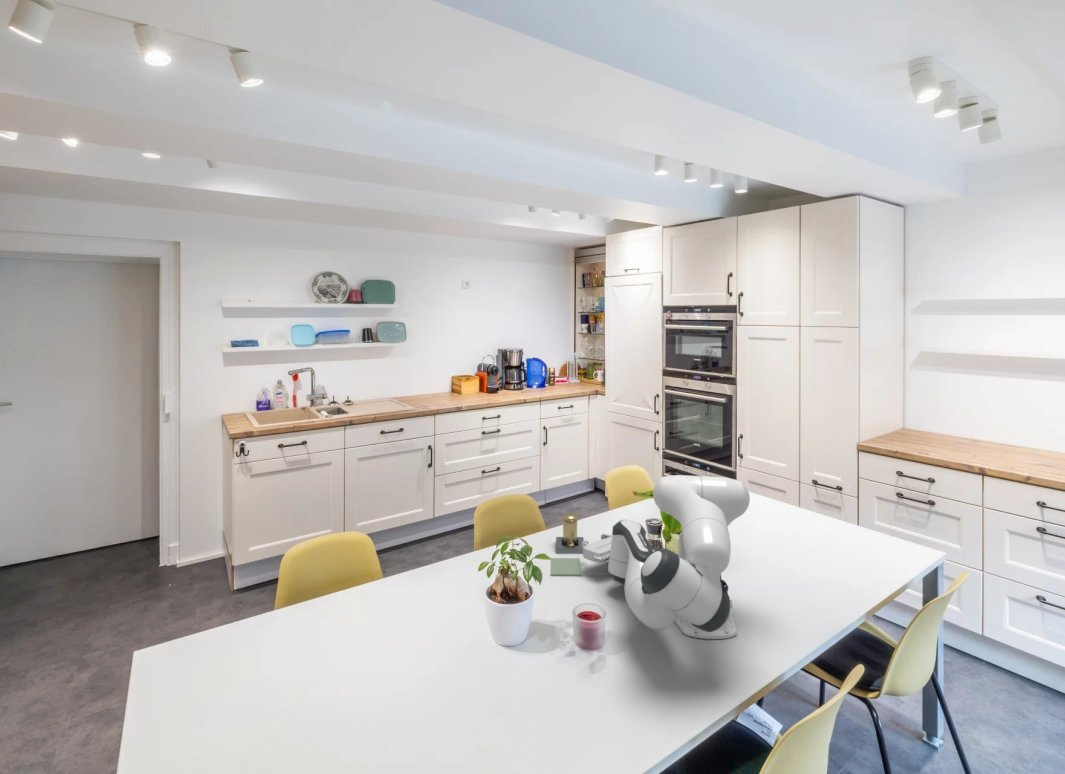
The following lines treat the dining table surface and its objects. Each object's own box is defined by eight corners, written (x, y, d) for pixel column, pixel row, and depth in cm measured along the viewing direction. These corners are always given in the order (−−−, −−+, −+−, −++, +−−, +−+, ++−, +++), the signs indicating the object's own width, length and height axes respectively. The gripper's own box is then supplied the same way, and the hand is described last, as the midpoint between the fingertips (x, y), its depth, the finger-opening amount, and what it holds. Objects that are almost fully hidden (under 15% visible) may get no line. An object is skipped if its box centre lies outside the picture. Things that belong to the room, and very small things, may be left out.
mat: (581, 576, 176) (581, 574, 176) (550, 576, 177) (550, 574, 177) (579, 559, 188) (579, 558, 188) (550, 559, 189) (550, 558, 189)
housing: (584, 555, 192) (584, 548, 192) (556, 554, 193) (556, 548, 192) (583, 543, 202) (583, 537, 202) (556, 543, 203) (556, 536, 202)
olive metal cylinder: (578, 551, 194) (578, 518, 193) (562, 551, 194) (561, 518, 193) (577, 544, 200) (578, 512, 199) (561, 544, 200) (561, 512, 199)
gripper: (601, 571, 171) (570, 556, 181) (643, 553, 183) (612, 541, 194) (601, 552, 170) (570, 538, 180) (643, 535, 183) (612, 524, 193)
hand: (592, 539), depth 187 cm, fingers open, 8 cm apart
